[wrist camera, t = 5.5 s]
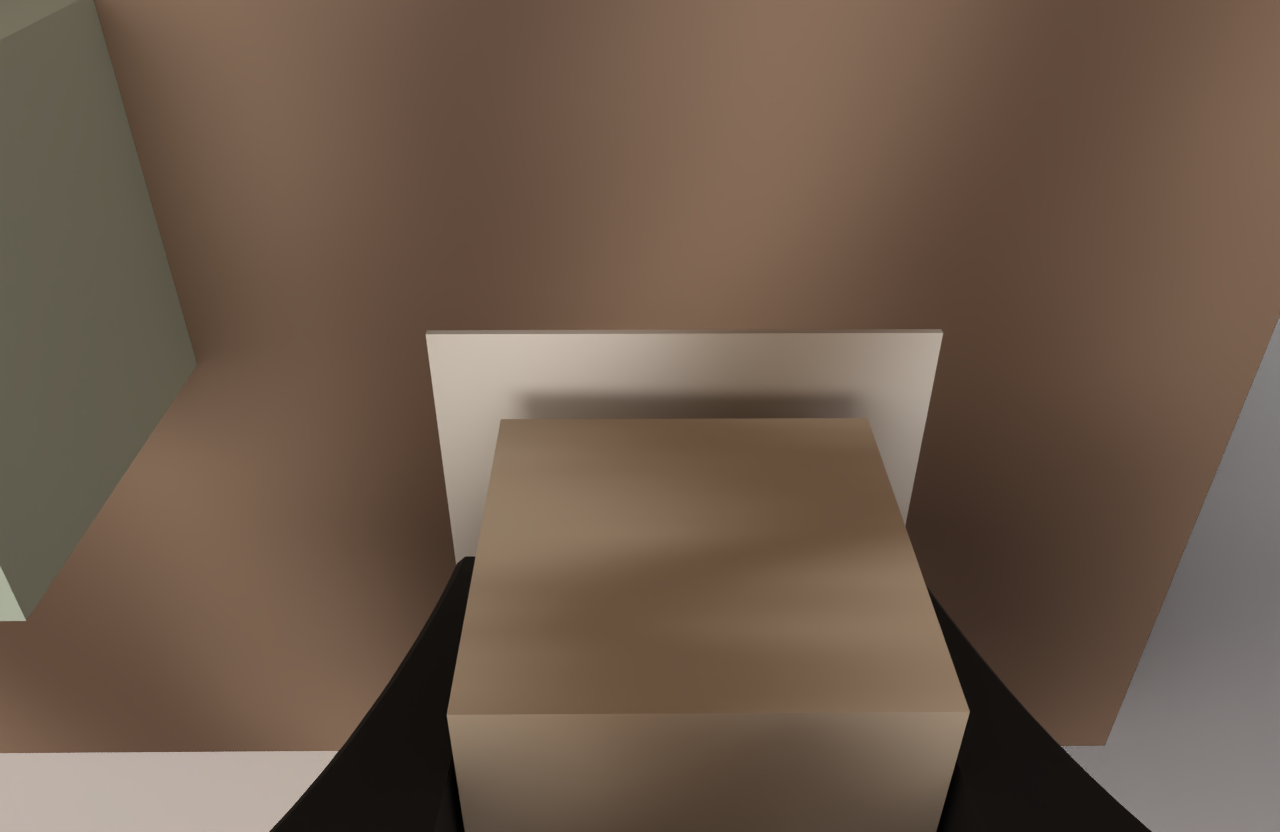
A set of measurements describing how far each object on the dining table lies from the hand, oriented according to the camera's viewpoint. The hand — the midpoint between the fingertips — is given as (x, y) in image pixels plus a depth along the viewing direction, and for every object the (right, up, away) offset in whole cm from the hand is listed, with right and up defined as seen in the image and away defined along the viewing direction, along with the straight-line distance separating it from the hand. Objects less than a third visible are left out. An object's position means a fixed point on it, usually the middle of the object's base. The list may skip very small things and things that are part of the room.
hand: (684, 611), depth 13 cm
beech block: (0, +1, 0) cm, 1 cm away
